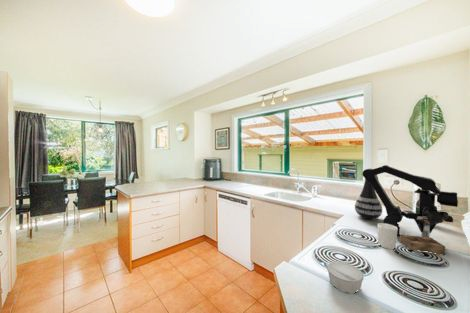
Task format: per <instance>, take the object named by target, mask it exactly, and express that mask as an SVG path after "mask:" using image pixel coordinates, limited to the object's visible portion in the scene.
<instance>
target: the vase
mask: <svg viewBox="0 0 470 313" xmlns="http://www.w3.org/2000/svg"><path fill="white" fill-rule="evenodd" d="M364 179H365V178H364ZM381 203H382V202H381V201H380V198H379V196H378V194H377V193H376V191H375V190H374V188H373V186H372V185H371V184H370V183H369V182H368V181H367V180H366V179H365V180H364V184H363V187H362V190H361V192H360V194H359V196H358V198H357V200H356V201H355V203H354V210H355V212H356V213H357V215H358V216H360V217H362V218H363V219H364V220H369V221H370V220H371V221H372V220H376V219H378V218H379V217H382V214H383V206H382V204H381Z"/></svg>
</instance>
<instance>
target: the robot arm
mask: <svg viewBox="0 0 470 313" xmlns="http://www.w3.org/2000/svg"><path fill="white" fill-rule="evenodd" d="M384 173H385V174H388V175H392V176H394V177H396V178H399V179H401V180H405V181H407V182H410V183H412V184H413V185H415V186H417V187H418V188H417V189H416V190H414V194H419V196H418V197H419V198H418V200H419V203H417V205H419V210H417V212H418V213H416V212H414V211H412V210H405V209H404V210H401V207H400V205H398V206H396V205H395V204H394V203H393V202H392V200H391V198H390V197H389V195H388V194H387V191H385V189H384V187H383V186H382V184H381V183H380V180H379V176H378V175H380V174H384ZM362 177H363V178H364V179H366V180H367V181H368V182H369V183H370V184H371V185H372V186H373V188H374V190H375V192H376V195H377V197H378V199H379V200H381V201H380V202H381V203H382V205H383V206H384V208H385V212H386V216H384V218H383V221H382V222H383V223H386V224H390V225H393V226H396V227H397V228H398V232H397V237H400V234H401V233H400V232H401V230H400V228H401V227H400V224H399V223H401V221H402V219H403V217H404V218H406V219H410V220H414V222H415V224H416V225H417V227H418V230H419V231H420V232H423V222H424V220H423V218H427V221H430V234H431V233H432V232H433V231H434V228H435V227H436V226H437V225H439V224H443V222H445V223H454V218H453V216H452V215H450V214H449V212H447V211H438V208H437V206H436V203H438V204H439V205H441V206H447V207H448V206H449V207H455V208H458V206H459V204H458V203H459V200H458V193H457V192H454V191H451V192H450V191H441V189H440V188H438V187H437V184H436V181H435V180H434V179H432V178H431V177H426V176H421V175H420V176H419V175H416V174H415V175H414V174H412V173H409V172H406V171H403V170H400V169H397V168H395V167H392V166H389V165H388V164H387V165H386V164H384V165H382V166H379V167H376V168H366V169H363V171H362ZM421 188H422V189H424V190H421ZM426 190H428V191H426ZM422 215H423V216H422Z"/></svg>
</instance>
